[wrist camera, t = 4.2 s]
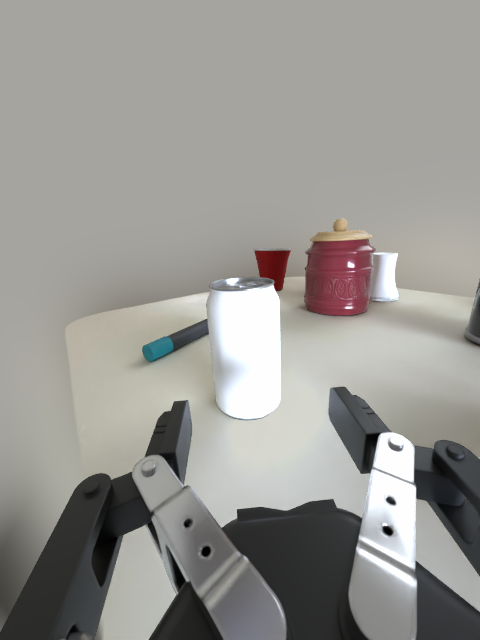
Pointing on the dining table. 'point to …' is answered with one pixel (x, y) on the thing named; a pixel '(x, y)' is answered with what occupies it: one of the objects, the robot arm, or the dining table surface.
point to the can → (245, 345)
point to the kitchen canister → (339, 271)
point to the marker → (174, 340)
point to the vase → (383, 277)
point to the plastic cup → (273, 265)
